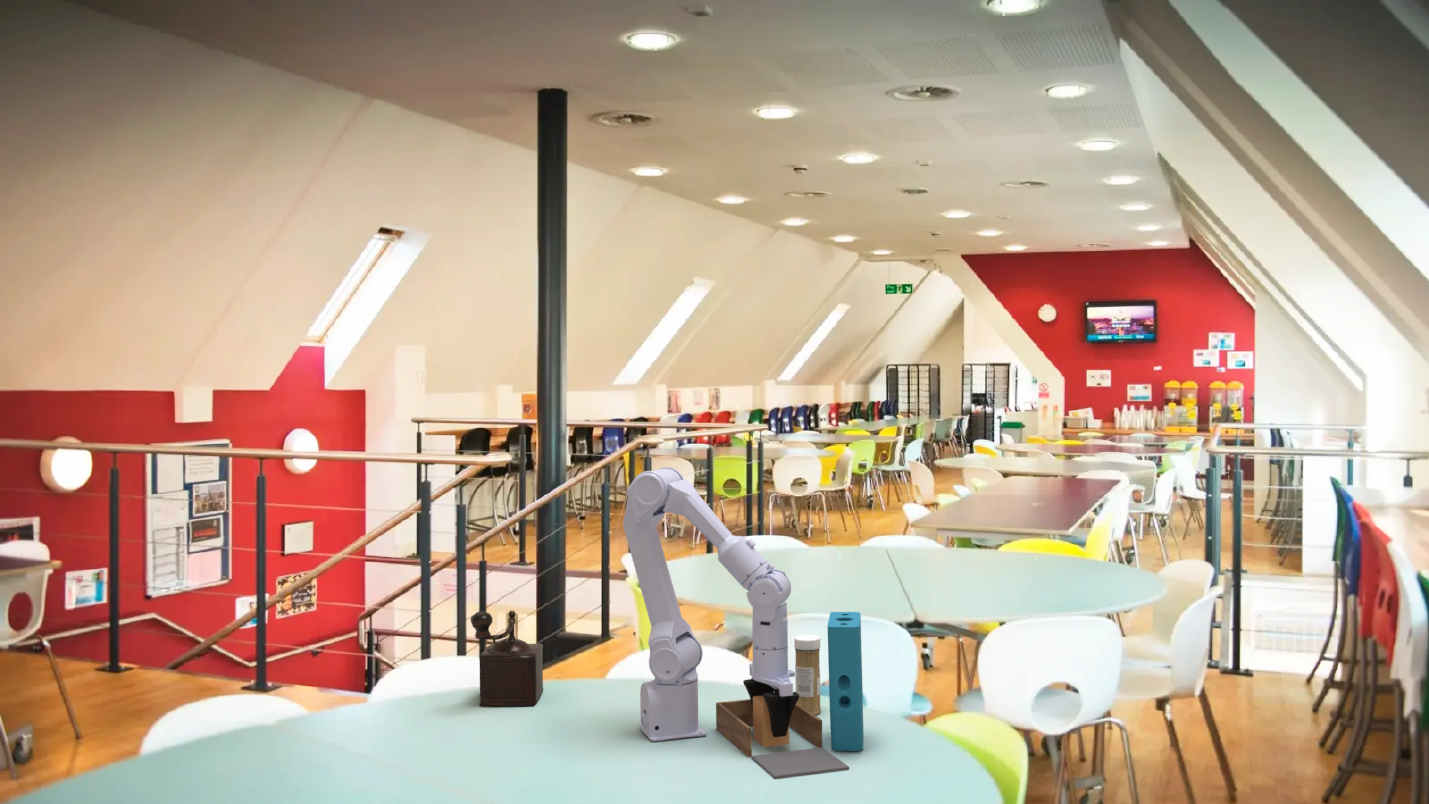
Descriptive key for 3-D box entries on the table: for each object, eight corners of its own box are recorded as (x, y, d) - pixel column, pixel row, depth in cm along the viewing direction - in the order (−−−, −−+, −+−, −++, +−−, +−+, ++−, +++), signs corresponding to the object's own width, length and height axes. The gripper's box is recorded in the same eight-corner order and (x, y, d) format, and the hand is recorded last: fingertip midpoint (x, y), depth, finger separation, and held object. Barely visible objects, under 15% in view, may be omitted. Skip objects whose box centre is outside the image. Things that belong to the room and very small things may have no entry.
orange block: (763, 747, 187) (762, 703, 187) (753, 739, 192) (752, 696, 192) (789, 744, 189) (788, 700, 189) (778, 736, 193) (778, 693, 193)
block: (862, 754, 183) (859, 627, 182) (830, 754, 183) (827, 627, 183) (863, 731, 195) (860, 611, 194) (833, 731, 195) (830, 611, 195)
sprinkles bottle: (826, 712, 206) (825, 636, 206) (809, 717, 203) (808, 640, 203) (806, 707, 210) (806, 632, 209) (789, 712, 207) (788, 636, 206)
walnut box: (747, 757, 182) (747, 728, 182) (716, 729, 197) (715, 702, 197) (822, 748, 186) (822, 720, 186) (785, 721, 201) (785, 695, 201)
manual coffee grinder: (486, 692, 223) (485, 598, 222) (544, 691, 222) (543, 597, 222) (468, 715, 207) (467, 614, 207) (531, 715, 207) (529, 613, 207)
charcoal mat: (774, 778, 172) (774, 776, 172) (751, 758, 182) (751, 755, 182) (849, 769, 176) (849, 766, 176) (822, 749, 186) (822, 747, 186)
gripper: (810, 653, 184) (811, 739, 185) (776, 635, 198) (777, 715, 198) (768, 657, 182) (769, 744, 182) (737, 638, 196) (738, 719, 196)
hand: (771, 729), depth 190 cm, fingers open, 7 cm apart
